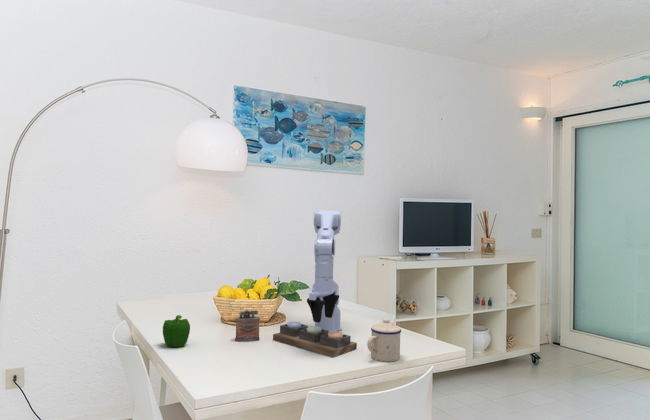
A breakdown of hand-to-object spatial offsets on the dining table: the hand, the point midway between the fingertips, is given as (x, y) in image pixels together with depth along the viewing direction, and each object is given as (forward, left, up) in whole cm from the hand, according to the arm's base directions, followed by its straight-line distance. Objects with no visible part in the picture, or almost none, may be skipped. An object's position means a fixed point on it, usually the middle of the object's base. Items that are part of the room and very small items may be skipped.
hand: (322, 319), depth 151 cm
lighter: (+10, -25, -10) cm, 28 cm away
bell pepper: (+30, -36, -10) cm, 47 cm away
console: (-2, -6, -10) cm, 11 cm away
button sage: (-2, -6, -6) cm, 8 cm away
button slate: (-2, -15, -6) cm, 16 cm away
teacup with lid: (-6, +18, -10) cm, 22 cm away
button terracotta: (-2, +3, -6) cm, 7 cm away
